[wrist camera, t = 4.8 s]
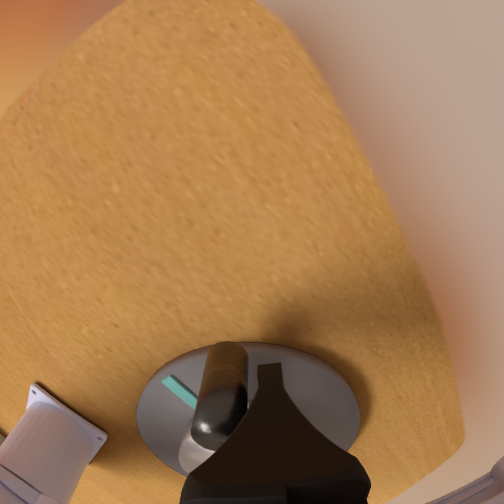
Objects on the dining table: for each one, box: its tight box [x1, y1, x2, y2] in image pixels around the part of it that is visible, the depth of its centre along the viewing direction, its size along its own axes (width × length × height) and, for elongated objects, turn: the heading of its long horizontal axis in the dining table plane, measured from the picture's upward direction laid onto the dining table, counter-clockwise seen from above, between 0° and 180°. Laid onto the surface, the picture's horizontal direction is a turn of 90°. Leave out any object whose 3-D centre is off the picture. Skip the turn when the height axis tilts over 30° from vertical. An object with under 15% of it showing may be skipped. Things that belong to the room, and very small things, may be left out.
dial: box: [179, 341, 251, 474], centre depth 14 cm, size 14×9×6 cm, turn 5°
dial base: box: [136, 342, 360, 476], centre depth 19 cm, size 16×16×1 cm
